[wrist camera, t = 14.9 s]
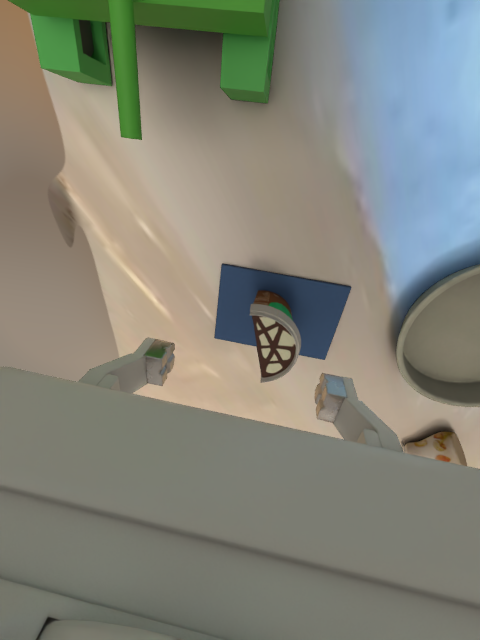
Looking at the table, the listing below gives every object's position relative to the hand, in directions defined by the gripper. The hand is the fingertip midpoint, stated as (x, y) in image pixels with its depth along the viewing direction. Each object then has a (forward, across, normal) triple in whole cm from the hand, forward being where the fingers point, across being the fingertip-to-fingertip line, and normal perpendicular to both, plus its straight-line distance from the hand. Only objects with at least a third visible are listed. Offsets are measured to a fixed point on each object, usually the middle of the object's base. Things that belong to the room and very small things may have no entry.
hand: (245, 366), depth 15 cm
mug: (+29, -38, +34) cm, 59 cm away
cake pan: (+29, -33, +8) cm, 45 cm away
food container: (+29, -4, +12) cm, 31 cm away
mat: (+29, -3, +12) cm, 32 cm away
